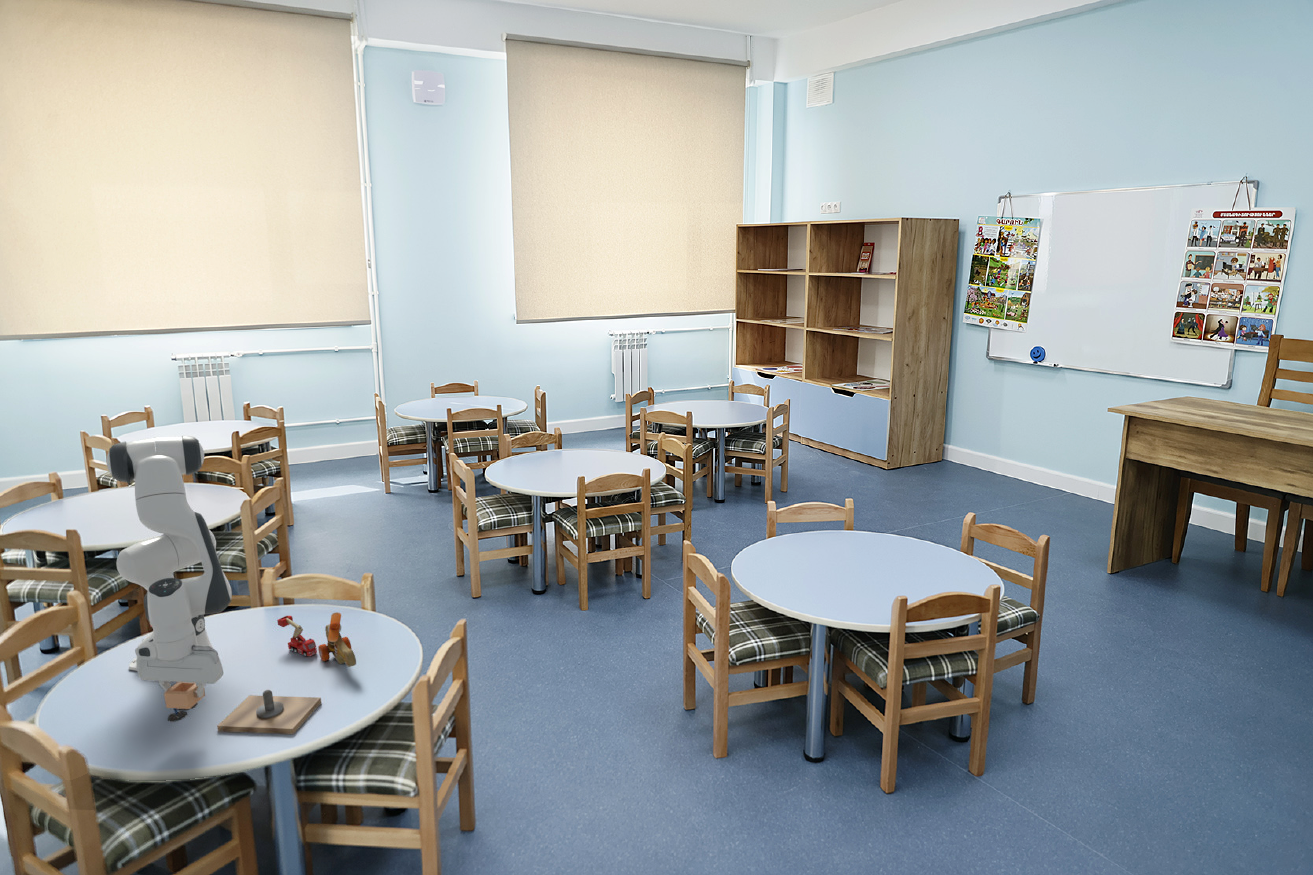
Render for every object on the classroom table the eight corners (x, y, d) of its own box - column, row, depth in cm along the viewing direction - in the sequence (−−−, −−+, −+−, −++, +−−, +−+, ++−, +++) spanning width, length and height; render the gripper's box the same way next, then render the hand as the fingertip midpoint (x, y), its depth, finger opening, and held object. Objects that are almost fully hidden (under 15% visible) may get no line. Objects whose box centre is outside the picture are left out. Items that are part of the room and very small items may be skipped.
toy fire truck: (309, 658, 240) (304, 628, 238) (280, 647, 247) (276, 617, 245) (318, 653, 243) (314, 623, 240) (290, 642, 250) (286, 613, 248)
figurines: (180, 723, 210) (177, 708, 209) (162, 722, 210) (159, 708, 209) (203, 701, 219) (200, 686, 218) (185, 701, 220) (183, 686, 219)
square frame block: (166, 707, 199) (163, 693, 198) (183, 694, 205) (180, 679, 204) (189, 709, 199) (186, 694, 198) (205, 695, 204) (202, 681, 203)
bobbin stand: (218, 731, 205) (213, 704, 203) (250, 700, 219) (246, 674, 217) (293, 734, 203) (289, 706, 201) (321, 702, 217) (317, 676, 215)
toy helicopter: (346, 647, 246) (340, 605, 243) (370, 674, 230) (364, 630, 227) (318, 656, 241) (311, 613, 238) (341, 685, 225) (334, 639, 222)
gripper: (224, 640, 200) (232, 690, 203) (146, 636, 202) (156, 686, 206) (207, 653, 194) (216, 705, 197) (128, 649, 196) (138, 700, 199)
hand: (185, 695), depth 201 cm, fingers closed on square frame block, 6 cm apart
